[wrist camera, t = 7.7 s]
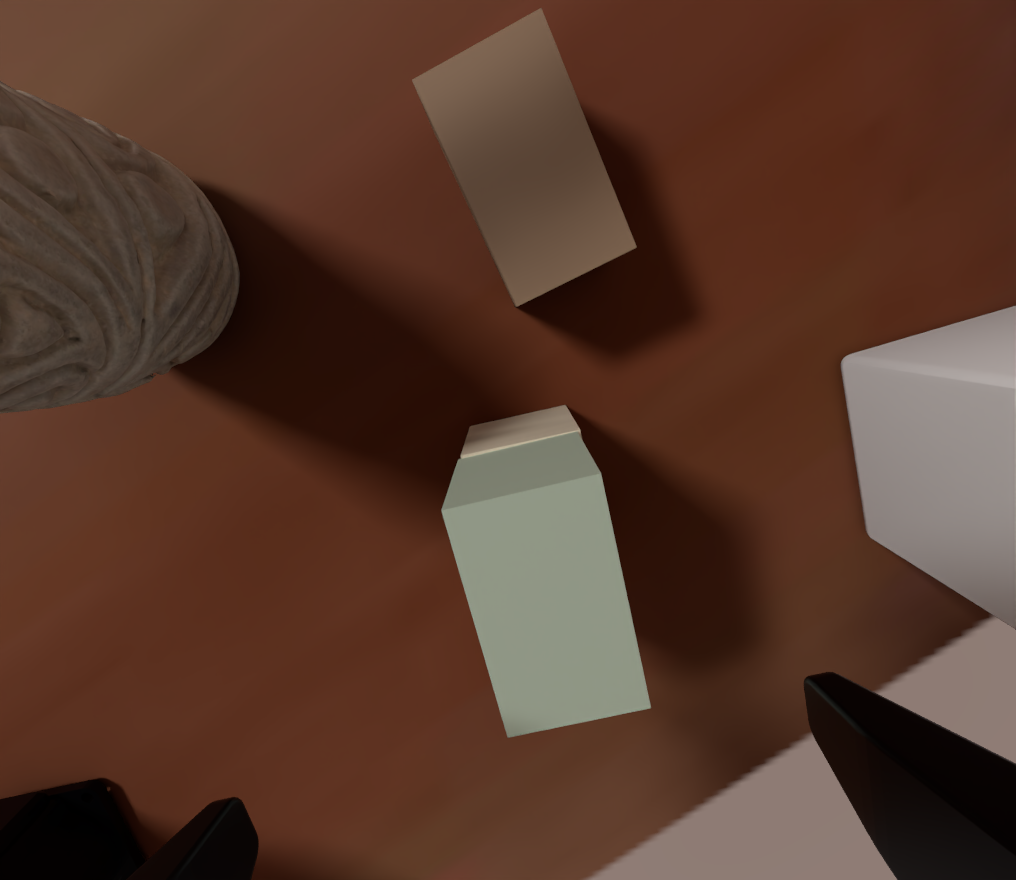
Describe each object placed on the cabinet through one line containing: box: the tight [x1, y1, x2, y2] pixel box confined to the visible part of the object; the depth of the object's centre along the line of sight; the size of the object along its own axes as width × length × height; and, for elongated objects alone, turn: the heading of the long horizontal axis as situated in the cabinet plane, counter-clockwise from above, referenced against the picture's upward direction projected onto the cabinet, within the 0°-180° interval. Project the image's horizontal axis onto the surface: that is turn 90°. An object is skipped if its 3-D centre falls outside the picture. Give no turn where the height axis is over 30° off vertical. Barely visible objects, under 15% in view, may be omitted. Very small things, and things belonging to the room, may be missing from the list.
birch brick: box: [461, 405, 582, 459], centre depth 18 cm, size 6×4×4 cm, turn 13°
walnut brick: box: [412, 8, 637, 307], centre depth 16 cm, size 6×4×4 cm, turn 26°
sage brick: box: [441, 431, 651, 737], centre depth 14 cm, size 6×4×4 cm, turn 14°
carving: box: [0, 81, 240, 413], centre depth 12 cm, size 6×8×12 cm
